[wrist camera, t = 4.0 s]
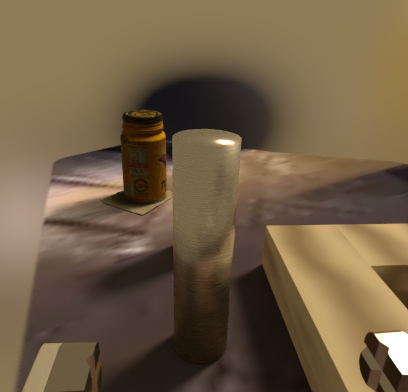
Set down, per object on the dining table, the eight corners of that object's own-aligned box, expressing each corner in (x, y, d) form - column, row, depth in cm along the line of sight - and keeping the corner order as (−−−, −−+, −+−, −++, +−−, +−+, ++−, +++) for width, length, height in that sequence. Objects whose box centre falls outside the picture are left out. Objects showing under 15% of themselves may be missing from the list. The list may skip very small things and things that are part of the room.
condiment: (178, 193, 53) (178, 112, 48) (142, 216, 46) (138, 123, 41) (139, 183, 56) (135, 105, 51) (100, 203, 50) (92, 115, 45)
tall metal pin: (197, 316, 30) (203, 126, 23) (236, 341, 28) (254, 137, 21) (163, 344, 27) (158, 137, 21) (203, 374, 25) (212, 151, 18)
